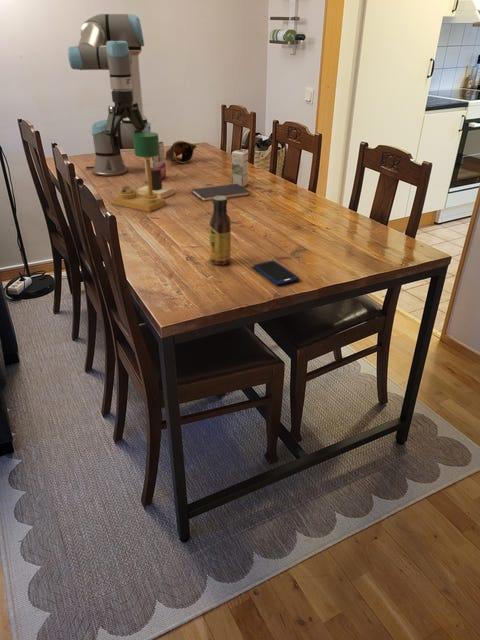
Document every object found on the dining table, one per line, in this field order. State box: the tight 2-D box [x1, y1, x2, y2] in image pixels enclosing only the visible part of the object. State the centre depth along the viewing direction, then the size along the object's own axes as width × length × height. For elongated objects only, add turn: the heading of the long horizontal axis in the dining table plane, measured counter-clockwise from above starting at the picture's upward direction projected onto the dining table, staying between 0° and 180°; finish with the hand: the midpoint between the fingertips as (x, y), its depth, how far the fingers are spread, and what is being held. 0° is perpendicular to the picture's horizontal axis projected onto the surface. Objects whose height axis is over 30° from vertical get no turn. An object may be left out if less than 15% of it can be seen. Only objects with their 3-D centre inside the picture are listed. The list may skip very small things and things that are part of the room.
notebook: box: [191, 183, 250, 202], centre depth 203 cm, size 13×2×21 cm
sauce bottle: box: [208, 196, 232, 266], centre depth 140 cm, size 7×6×20 cm
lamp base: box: [113, 189, 167, 213], centre depth 190 cm, size 18×10×4 cm, turn 60°
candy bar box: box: [143, 140, 167, 183], centre depth 217 cm, size 11×5×16 cm, turn 161°
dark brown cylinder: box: [151, 167, 163, 190], centre depth 199 cm, size 6×6×8 cm
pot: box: [165, 140, 199, 164], centre depth 251 cm, size 17×11×18 cm
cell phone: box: [252, 260, 300, 286], centre depth 138 cm, size 7×14×1 cm, turn 30°
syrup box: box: [231, 149, 249, 188], centre depth 212 cm, size 6×6×14 cm
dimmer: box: [136, 184, 175, 199], centre depth 201 cm, size 12×10×3 cm
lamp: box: [133, 131, 160, 199], centre depth 180 cm, size 9×9×23 cm
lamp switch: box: [121, 185, 133, 194], centre depth 191 cm, size 4×4×2 cm
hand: (128, 151), depth 184 cm, fingers open, 13 cm apart
